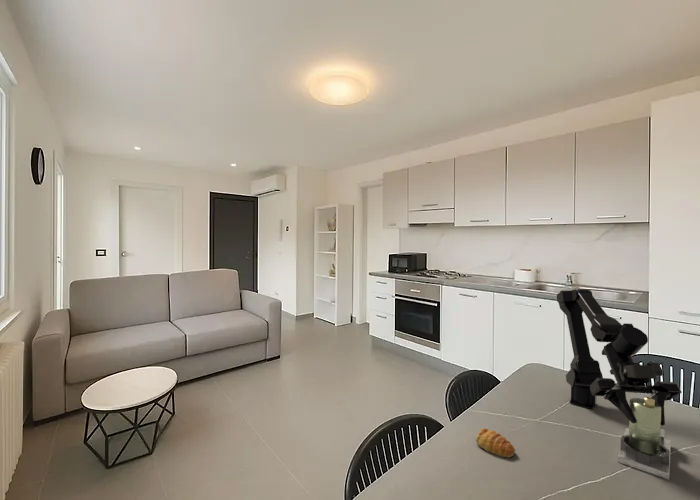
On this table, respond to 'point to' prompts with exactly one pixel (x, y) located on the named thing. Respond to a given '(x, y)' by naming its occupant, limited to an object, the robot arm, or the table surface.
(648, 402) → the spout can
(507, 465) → the table surface
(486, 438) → the pastry
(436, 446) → the table surface
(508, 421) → the table surface
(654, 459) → the grey piece
